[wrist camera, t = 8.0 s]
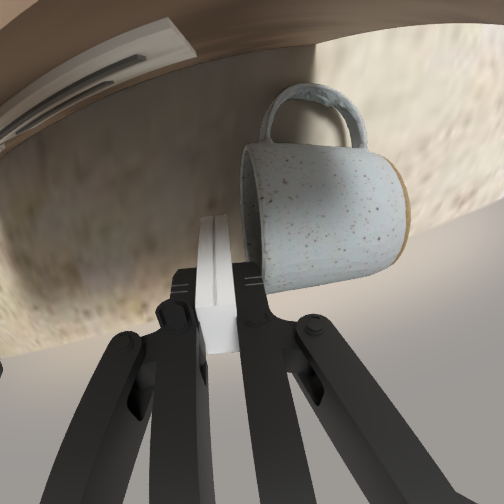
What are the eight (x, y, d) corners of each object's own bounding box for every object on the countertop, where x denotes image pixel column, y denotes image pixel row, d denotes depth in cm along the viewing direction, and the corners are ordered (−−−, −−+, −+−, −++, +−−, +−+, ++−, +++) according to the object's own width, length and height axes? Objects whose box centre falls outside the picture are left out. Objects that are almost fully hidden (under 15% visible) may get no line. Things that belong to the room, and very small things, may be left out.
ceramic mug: (351, 234, 21) (402, 303, 14) (241, 243, 20) (256, 326, 14) (366, 89, 15) (448, 105, 9) (234, 83, 14) (248, 81, 8)
